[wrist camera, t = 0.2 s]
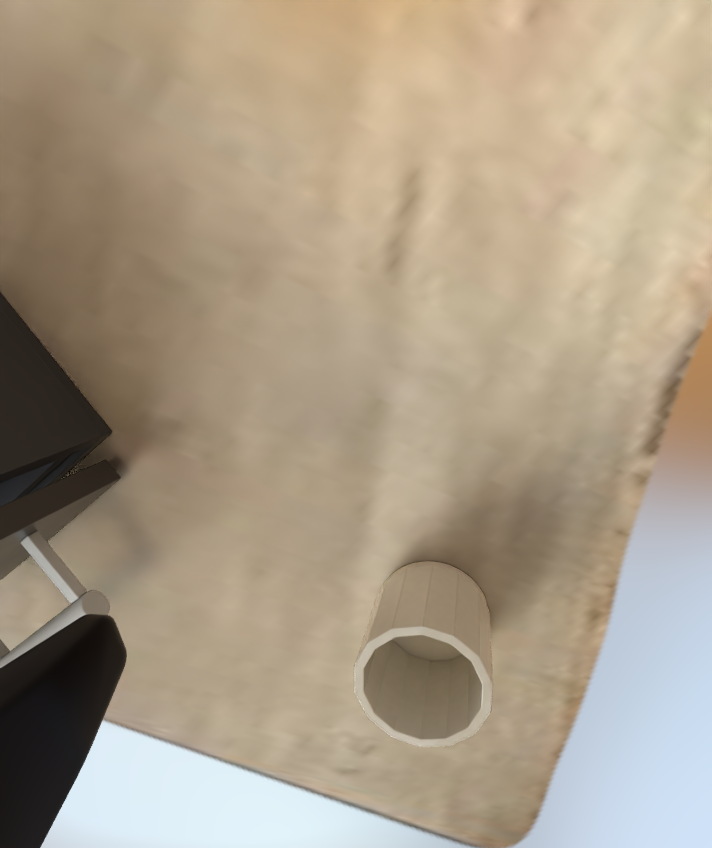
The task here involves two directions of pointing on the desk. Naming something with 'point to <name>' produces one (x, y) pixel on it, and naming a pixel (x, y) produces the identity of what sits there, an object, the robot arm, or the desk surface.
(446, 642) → the container
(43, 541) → the drawer
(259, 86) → the desk surface
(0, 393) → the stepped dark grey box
